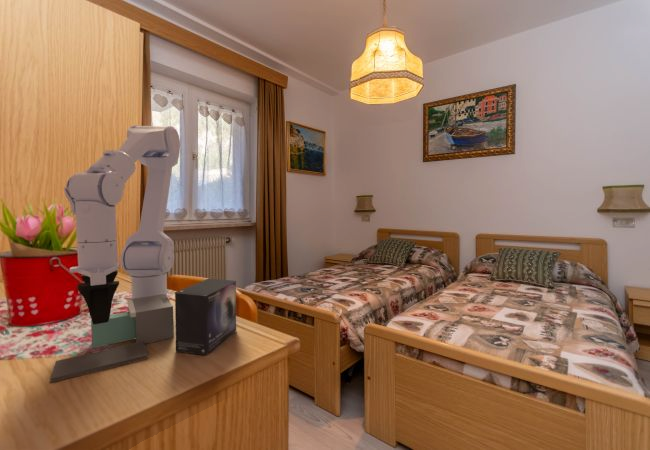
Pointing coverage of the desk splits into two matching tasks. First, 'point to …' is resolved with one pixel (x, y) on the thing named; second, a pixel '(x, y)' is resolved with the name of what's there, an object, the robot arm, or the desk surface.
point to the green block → (114, 330)
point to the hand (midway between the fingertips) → (101, 316)
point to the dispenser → (152, 318)
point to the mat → (97, 361)
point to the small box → (205, 315)
